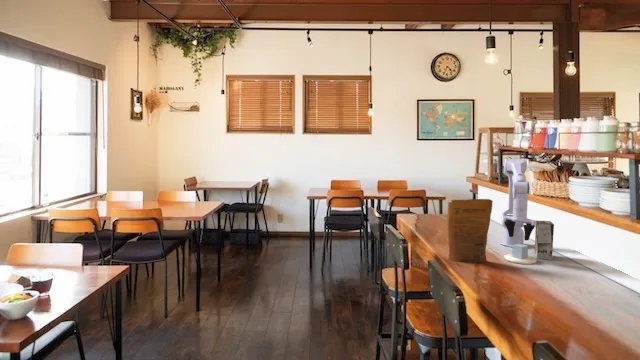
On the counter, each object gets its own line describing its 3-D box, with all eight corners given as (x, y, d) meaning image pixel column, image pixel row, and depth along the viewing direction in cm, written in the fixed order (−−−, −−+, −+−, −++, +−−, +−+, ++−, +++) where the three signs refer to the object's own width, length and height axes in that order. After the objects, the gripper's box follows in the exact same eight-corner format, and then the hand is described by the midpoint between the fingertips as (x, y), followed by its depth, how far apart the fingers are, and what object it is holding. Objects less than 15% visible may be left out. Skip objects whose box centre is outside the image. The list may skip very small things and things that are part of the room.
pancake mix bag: (492, 264, 181) (494, 199, 179) (446, 262, 184) (448, 199, 182) (488, 259, 188) (490, 197, 185) (444, 258, 191) (446, 197, 188)
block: (518, 255, 190) (518, 243, 190) (527, 258, 186) (528, 245, 186) (512, 257, 188) (512, 245, 187) (521, 259, 184) (521, 247, 183)
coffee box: (552, 260, 187) (554, 224, 186) (536, 258, 189) (538, 223, 188) (549, 254, 196) (550, 220, 194) (533, 253, 198) (535, 219, 196)
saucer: (515, 254, 196) (516, 252, 196) (542, 261, 185) (542, 258, 185) (497, 258, 189) (498, 256, 189) (524, 266, 178) (524, 263, 178)
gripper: (500, 207, 192) (499, 236, 193) (529, 211, 179) (528, 242, 181) (509, 205, 195) (508, 234, 197) (539, 210, 183) (538, 240, 184)
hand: (518, 238), depth 189 cm, fingers open, 7 cm apart
